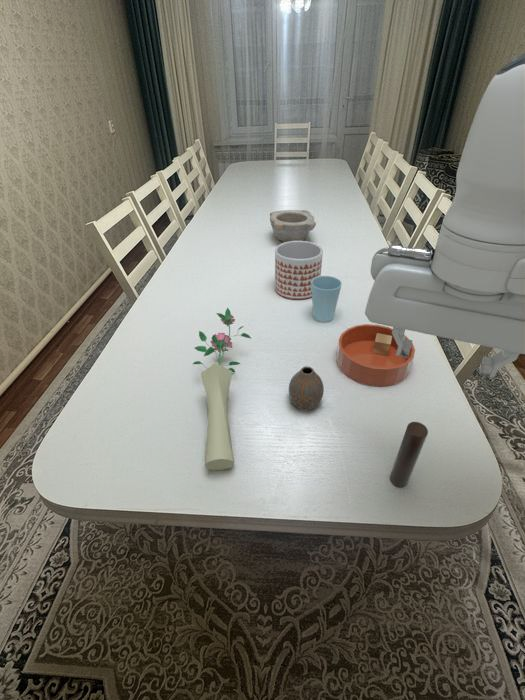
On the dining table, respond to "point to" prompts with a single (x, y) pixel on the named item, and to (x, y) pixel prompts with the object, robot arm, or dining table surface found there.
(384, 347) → the block
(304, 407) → the vase
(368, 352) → the bowl
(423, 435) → the dark brown cylinder
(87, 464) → the dining table surface
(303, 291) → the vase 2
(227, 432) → the flower vase
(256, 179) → the dining table surface
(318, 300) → the cup
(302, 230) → the mortar
